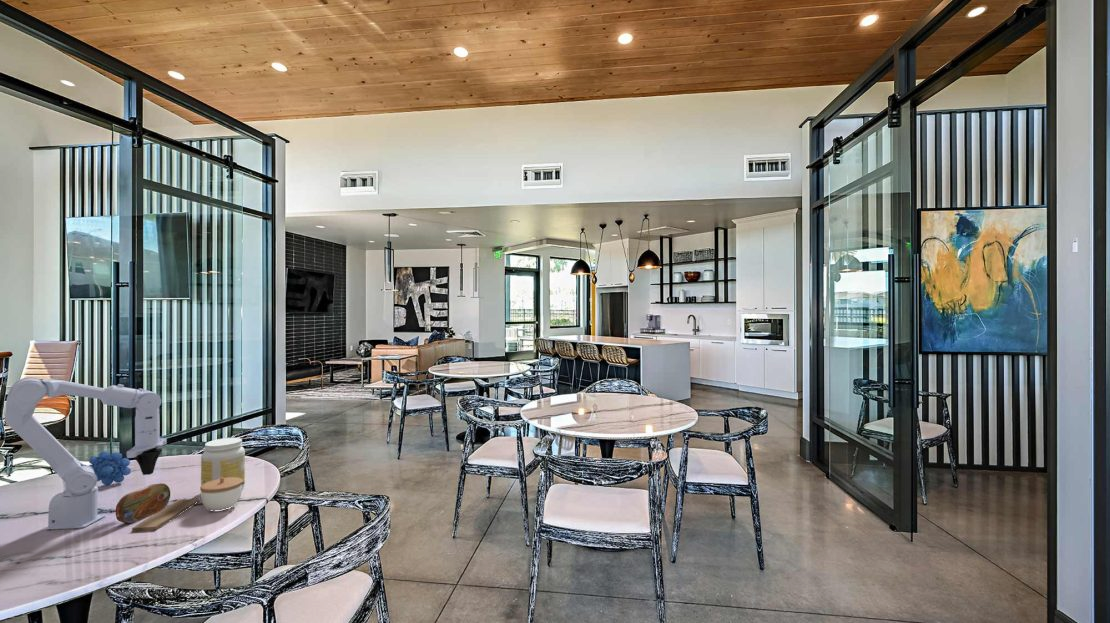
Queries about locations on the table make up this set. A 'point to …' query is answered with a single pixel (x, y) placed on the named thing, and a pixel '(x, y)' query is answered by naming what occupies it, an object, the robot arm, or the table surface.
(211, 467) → the supplement tub
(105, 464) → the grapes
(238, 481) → the lidded jar
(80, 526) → the robot arm
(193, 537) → the table surface
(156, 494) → the tin
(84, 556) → the table surface
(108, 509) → the table surface
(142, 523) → the walnut board
